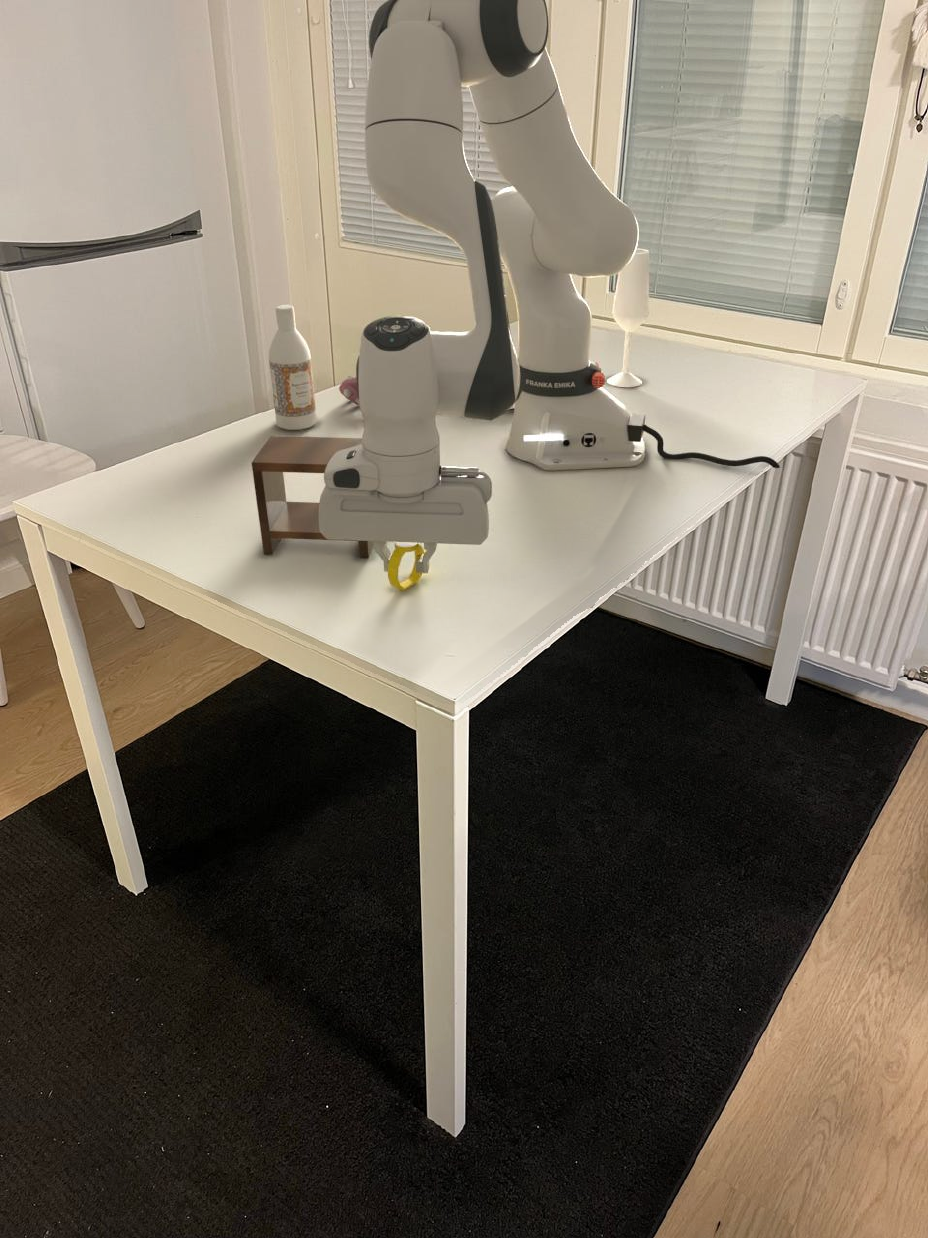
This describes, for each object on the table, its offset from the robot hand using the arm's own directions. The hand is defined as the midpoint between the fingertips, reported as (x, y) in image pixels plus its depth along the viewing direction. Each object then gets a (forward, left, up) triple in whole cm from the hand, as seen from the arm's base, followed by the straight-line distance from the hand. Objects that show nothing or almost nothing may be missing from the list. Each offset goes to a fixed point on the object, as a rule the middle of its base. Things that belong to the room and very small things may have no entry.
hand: (406, 570), depth 117 cm
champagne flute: (-31, -81, -2) cm, 87 cm away
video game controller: (+16, -64, -2) cm, 66 cm away
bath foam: (+27, -54, -2) cm, 60 cm away
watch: (0, 0, -2) cm, 2 cm away
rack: (+13, -11, -2) cm, 17 cm away
